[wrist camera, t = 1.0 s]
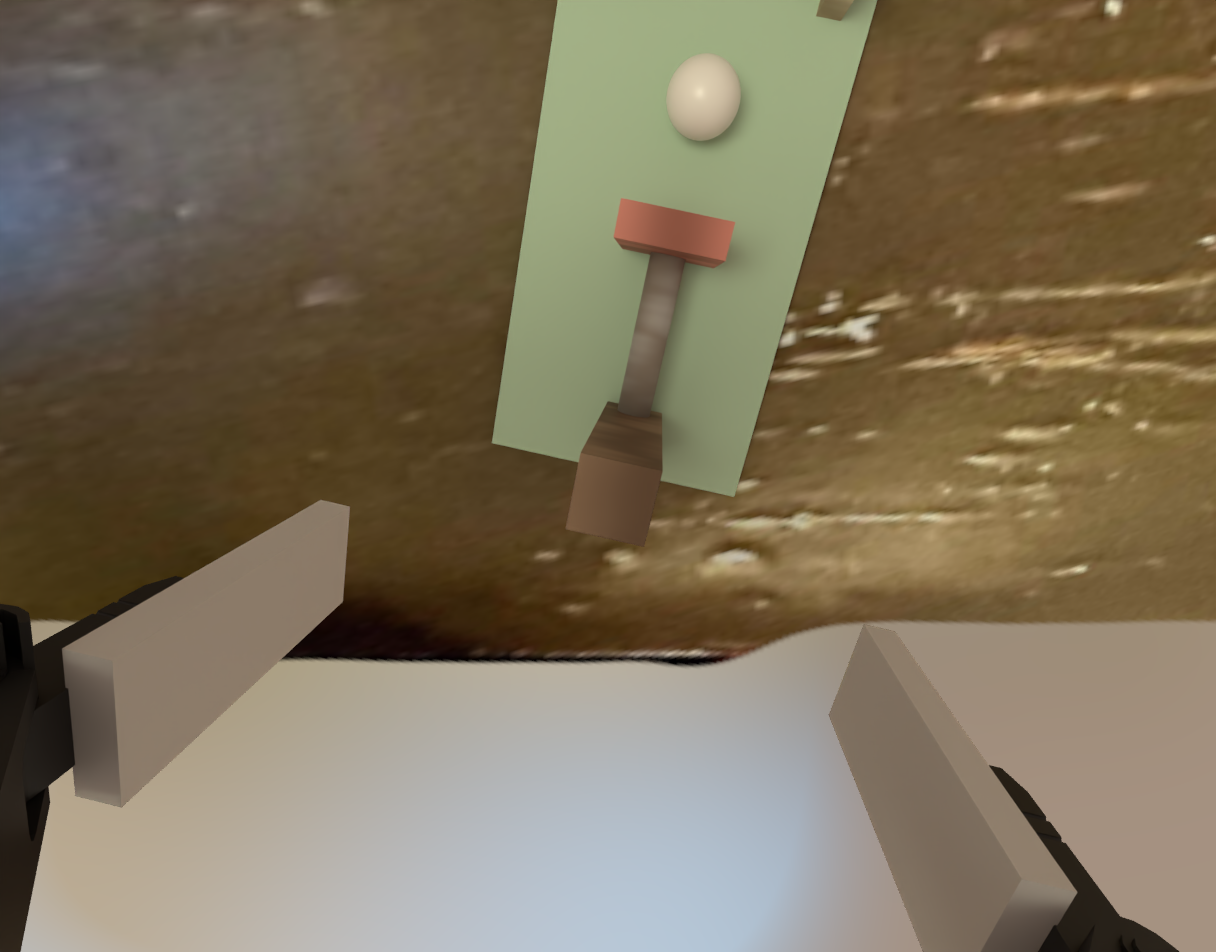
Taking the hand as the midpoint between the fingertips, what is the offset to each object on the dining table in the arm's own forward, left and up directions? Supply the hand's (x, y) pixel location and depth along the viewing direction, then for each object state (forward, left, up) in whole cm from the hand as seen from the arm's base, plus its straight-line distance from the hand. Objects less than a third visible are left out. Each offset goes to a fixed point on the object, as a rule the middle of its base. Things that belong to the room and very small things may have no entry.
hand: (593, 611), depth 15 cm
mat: (-1, +14, -21) cm, 25 cm away
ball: (0, +17, -19) cm, 25 cm away
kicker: (0, +5, -20) cm, 21 cm away
